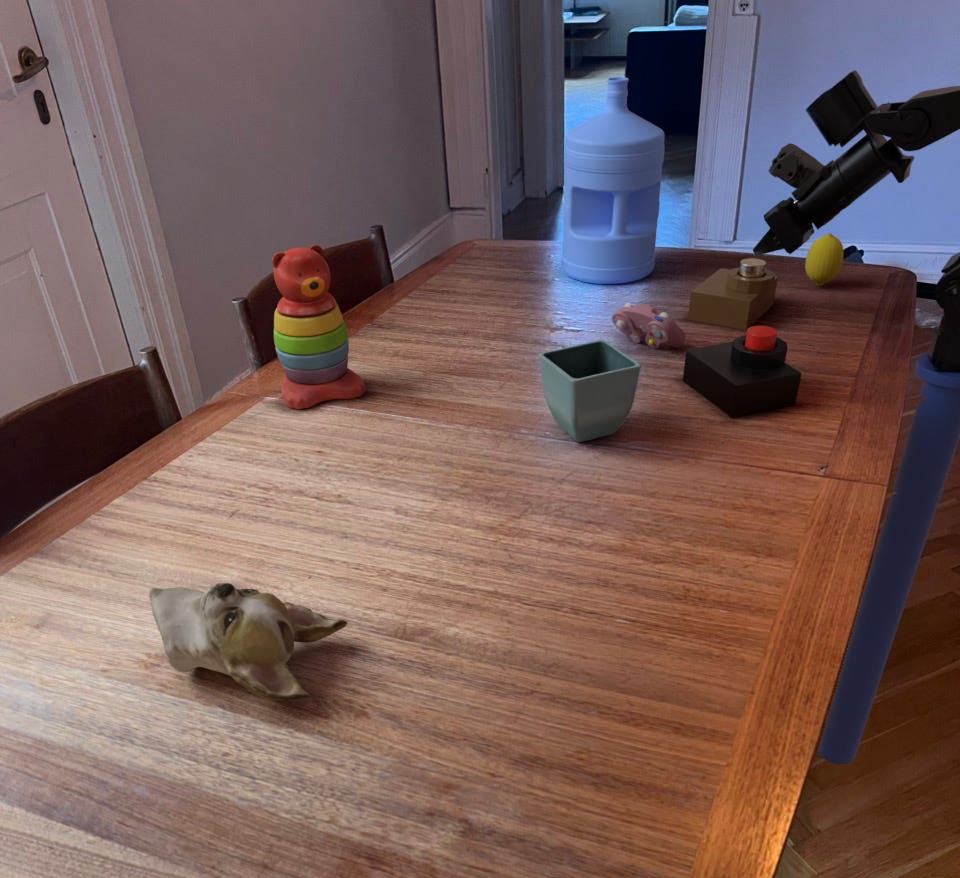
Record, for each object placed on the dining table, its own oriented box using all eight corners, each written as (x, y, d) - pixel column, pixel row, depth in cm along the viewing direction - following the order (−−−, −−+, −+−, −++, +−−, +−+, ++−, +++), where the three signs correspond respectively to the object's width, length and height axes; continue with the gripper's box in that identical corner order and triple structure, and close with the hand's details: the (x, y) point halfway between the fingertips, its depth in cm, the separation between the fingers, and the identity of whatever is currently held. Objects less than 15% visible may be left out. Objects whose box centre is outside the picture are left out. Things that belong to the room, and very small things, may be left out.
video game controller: (614, 348, 133) (603, 310, 127) (632, 325, 134) (622, 288, 128) (672, 364, 127) (663, 327, 122) (690, 341, 128) (682, 303, 123)
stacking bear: (289, 412, 116) (264, 267, 105) (270, 383, 123) (244, 245, 112) (370, 395, 119) (354, 253, 108) (346, 368, 126) (329, 232, 115)
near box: (748, 368, 122) (755, 323, 118) (802, 404, 113) (811, 357, 109) (682, 380, 120) (687, 335, 116) (731, 418, 111) (738, 370, 107)
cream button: (767, 274, 134) (769, 260, 133) (758, 281, 132) (761, 267, 131) (743, 271, 136) (745, 256, 134) (734, 278, 133) (736, 263, 132)
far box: (779, 305, 140) (786, 265, 136) (752, 331, 132) (759, 289, 128) (717, 295, 144) (722, 256, 140) (687, 320, 136) (692, 278, 133)
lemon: (808, 278, 149) (818, 226, 144) (842, 284, 146) (853, 231, 141) (795, 288, 145) (805, 235, 140) (830, 294, 143) (841, 240, 138)
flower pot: (570, 454, 105) (573, 380, 99) (536, 424, 111) (537, 352, 105) (637, 438, 107) (643, 364, 102) (600, 409, 114) (603, 338, 108)
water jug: (553, 259, 161) (557, 74, 143) (641, 254, 162) (655, 68, 144) (570, 288, 149) (576, 89, 131) (664, 282, 150) (683, 84, 132)
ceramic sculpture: (176, 536, 77) (345, 563, 75) (194, 616, 83) (352, 643, 80) (110, 613, 69) (297, 645, 67) (135, 695, 75) (308, 728, 73)
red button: (763, 339, 115) (766, 323, 114) (780, 350, 112) (783, 333, 111) (738, 344, 114) (741, 328, 113) (754, 354, 111) (757, 338, 110)
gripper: (836, 111, 125) (745, 190, 136) (792, 137, 113) (697, 221, 124) (881, 180, 126) (788, 252, 138) (843, 213, 114) (744, 289, 126)
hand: (755, 252), depth 132 cm, fingers closed
